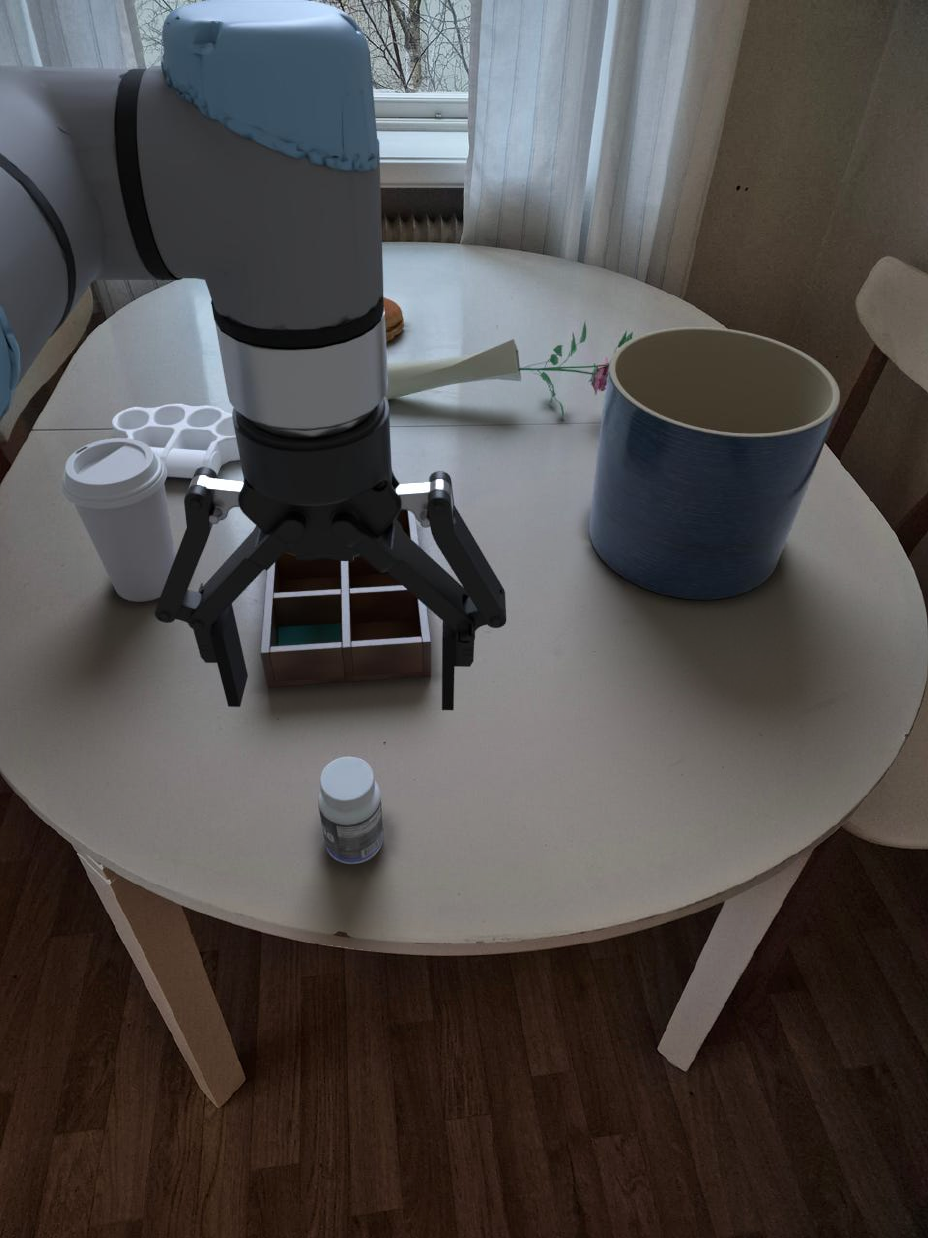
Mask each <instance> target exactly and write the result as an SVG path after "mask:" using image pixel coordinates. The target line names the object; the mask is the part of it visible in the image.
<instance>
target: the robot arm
mask: <svg viewBox="0 0 928 1238" xmlns="http://www.w3.org/2000/svg"><path fill="white" fill-rule="evenodd" d="M161 36H162V37H161V40H162V47H163V54H162V55H161V58H160V65H151V66H149V67H147V68H127V69H126V68H102V67H97V68H96V67H70V66H69V67H68V66H67V67H65V66H36V65H32V66H31V65H6V64H5V65H3V64H0V423H2V421H3V418H4V416H5V415H6V414H7V413H8V412H9V411H10V409H11V406H13V404H14V403H13V402H14V398H15V394H16V393H15V392H16V389H17V388H18V386H19V385H20V383H21V382H22V380H23V378H24V377H25V376H26V374H27V373H28V371H29V370H30V368H31V367H32V366H33V363H34V362H35V360H36V359H37V358H38V356H39V354H40V353H41V351H42V350H43V348H44V347H45V345H46V344H47V342H48V341H49V340H50V339H51V337H53V335H55V333H57V331H58V329H60V327H62V325H63V324H64V323H65V321H66V320H67V318H68V317H70V314H71V313H72V312H73V310H74V309H75V307H76V306H77V304H78V303H79V302H80V300H81V299H82V297H83V296H84V294H85V293H86V291H88V288H89V287H90V286H91V284H92V283H93V282H95V281H181V280H183V279H197V280H202V281H204V282H205V285H206V287H207V290H208V293H209V296H210V299H211V301H210V305H211V308H212V315H213V320H214V324H215V330H216V335H217V341H218V348H219V353H220V358H221V364H222V370H223V377H224V382H225V387H226V393H227V397H228V402H229V403H230V405H231V406H232V407H233V408H232V412H231V413H232V419H233V424H234V430H235V435H236V440H237V446H238V451H239V456H240V460H239V461H240V462H239V463H240V467H241V472H242V476H243V481H239V480H232V479H222V478H219V477H218V475H217V474H216V472H215V471H214V470H212V469H211V468H208V467H200V468H198V469H197V470H196V471H195V473H194V476H193V478H191V481H190V483H189V486H188V489H187V491H186V493H185V495H184V499H183V503H184V504H183V507H184V514H185V523H186V529H185V531H184V533H183V536H182V539H181V541H180V544H179V547H178V548H177V549H178V550H177V552H176V553H175V556H176V557H175V560H174V562H173V565H172V568H171V570H170V573H169V575H168V578H167V581H166V583H165V586H164V588H163V591H162V594H161V596H160V598H158V602H157V605H156V606H155V609H154V617H155V618H156V620H158V621H159V622H162V623H164V624H165V623H166V624H169V623H174V621H176V620H178V621H181V622H184V623H187V625H188V627H189V628H191V629H192V631H193V634H194V637H195V641H196V645H197V649H198V652H199V655H200V658H201V659H202V660H203V661H204V663H205V664H217V668H218V672H219V675H220V680H221V684H222V687H223V691H224V695H225V698H226V703H227V707H228V708H229V707H230V708H240V707H241V705H242V702H243V697H244V693H245V690H246V685H247V681H248V676H249V673H248V669H247V666H246V660H245V657H244V652H243V646H242V643H241V638H240V633H239V629H238V625H237V619H236V616H235V611H234V607H233V603H234V602H235V601H236V599H238V598H239V597H240V595H242V593H244V591H245V590H246V589H247V588H248V587H249V586H250V585H251V584H252V583H253V582H254V581H256V579H257V578H258V576H260V575H261V573H262V572H264V571H267V570H268V569H269V568H270V567H271V566H272V565H273V564H274V563H275V562H276V561H277V560H278V559H279V558H280V557H281V555H282V554H283V553H284V552H287V553H289V554H291V555H294V556H296V559H297V560H316V559H321V558H328V559H333V560H337V561H354V557H356V556H359V555H361V556H362V557H363V558H364V559H365V560H366V561H368V562H369V563H370V564H371V565H372V566H373V567H375V568H376V569H377V570H378V571H380V572H384V571H386V572H388V573H389V574H390V575H391V576H392V577H393V578H395V579H396V580H397V581H398V582H399V583H400V584H401V585H403V586H404V587H405V588H406V589H407V590H408V591H409V592H411V593H412V594H413V595H414V596H415V597H416V598H417V599H419V600H420V601H421V602H422V603H423V604H424V605H425V606H427V609H429V610H430V611H431V612H432V613H433V614H434V615H436V616H437V617H438V618H439V619H440V620H441V621H442V633H441V634H442V635H441V637H442V638H441V642H442V643H441V657H442V658H441V711H454V710H455V709H454V708H455V707H454V706H455V667H456V668H457V667H459V668H460V667H461V668H470V667H471V666H472V664H473V663H474V657H475V656H474V655H475V639H476V631H477V630H478V629H479V628H481V627H484V626H488V627H489V628H491V629H492V628H493V629H500V628H502V627H504V626H505V625H506V624H507V606H506V605H507V604H506V590H505V589H504V586H503V585H502V583H501V581H500V580H499V578H498V577H497V575H496V574H495V572H494V570H493V568H492V566H491V565H490V563H489V562H488V561H489V560H487V558H486V556H485V555H484V553H483V550H482V549H481V548H480V546H479V544H478V543H477V540H476V539H475V537H474V536H473V534H472V532H471V531H470V529H469V527H468V525H467V524H466V522H465V521H464V519H463V517H462V515H461V513H460V512H459V510H458V508H457V506H455V501H454V500H455V498H454V491H453V482H452V477H451V476H450V474H449V473H447V472H446V471H444V470H437V471H434V472H433V473H431V474H430V476H429V478H428V481H427V482H414V483H412V482H411V483H400V482H399V481H398V479H397V478H396V476H395V474H394V472H393V467H392V443H391V442H392V441H391V423H390V421H391V420H390V405H389V404H390V403H389V400H387V398H386V397H385V395H386V394H387V387H388V372H387V364H388V354H387V350H388V349H387V342H386V329H385V312H384V298H383V297H384V263H383V262H384V261H383V231H382V229H383V227H382V195H381V194H382V192H381V191H382V190H381V160H380V159H381V156H380V140H379V138H378V131H377V130H378V129H377V117H376V108H375V96H374V85H373V84H374V83H373V73H372V63H371V62H372V60H371V51H370V47H369V44H368V41H367V37H366V36H365V33H364V32H363V30H362V29H361V27H360V26H359V25H358V23H357V22H356V20H355V19H354V18H353V17H352V16H350V15H349V14H348V13H347V12H345V11H343V10H342V9H340V8H338V7H335V6H333V5H331V4H328V3H324V2H319V1H313V0H200V1H199V0H198V1H195V2H191V3H187V4H184V5H181V6H179V7H177V8H174V9H173V10H172V11H171V12H170V13H169V14H167V16H166V18H164V21H163V25H162V31H161ZM233 508H239V509H240V510H241V512H242V513H243V515H245V517H247V519H249V520H250V521H251V522H252V523H253V524H254V525H255V527H254V528H253V530H252V531H251V532H250V534H249V535H248V536H247V537H246V538H245V539H244V540H243V542H242V543H240V545H239V546H238V547H237V548H236V549H235V550H234V551H233V553H231V554H230V556H229V557H228V558H227V559H226V560H225V561H224V563H222V565H220V567H219V568H218V569H217V570H216V571H215V572H214V573H213V574H212V576H211V577H210V578H209V579H208V580H207V581H206V583H203V582H202V583H200V585H199V588H198V591H194V590H191V589H189V586H190V584H191V582H192V579H193V577H194V574H195V571H196V569H197V567H198V565H199V562H200V560H201V557H202V556H203V553H204V550H205V547H206V545H207V543H208V539H209V536H210V534H211V531H212V528H213V525H217V524H219V522H221V521H224V520H225V519H227V518H228V515H229V512H230V510H232V509H233ZM401 510H408V511H410V512H412V513H413V514H414V515H415V517H416V521H417V522H419V523H420V526H421V527H422V528H425V529H427V528H430V532H431V535H432V538H433V540H434V542H435V544H436V546H437V548H438V550H439V552H441V554H442V556H443V558H444V559H445V561H446V562H447V563H448V565H449V567H450V568H451V570H452V571H453V573H454V574H455V576H456V578H457V579H458V581H459V582H460V583H459V582H458V581H457V579H455V578H454V577H453V576H452V575H451V574H450V573H449V572H447V571H446V570H445V569H444V568H443V567H442V566H441V565H440V564H439V563H437V561H436V560H434V559H433V558H432V557H431V556H430V555H429V553H427V552H426V551H425V550H424V549H422V547H420V545H419V546H418V545H417V544H416V543H415V542H414V541H413V540H412V539H411V538H409V537H408V536H407V535H406V534H405V532H404V530H403V528H402V526H401V524H400V523H399V522H398V520H396V518H397V516H398V515H399V513H400V511H401Z"/></svg>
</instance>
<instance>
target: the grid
mask: <svg viewBox="0 0 928 1238" xmlns="http://www.w3.org/2000/svg"><path fill="white" fill-rule="evenodd" d="M396 520H398V522H399V523H400V524H401V526H402V528H403V530H404V532H405V534H406V535H407V536H408V537H409V538H411V539H412V540H413V541H414V542H415V543H416V544H417V545H418V546H419V547H420V541H419V533H418V525H417V519H416V517H415V515H414V514H413V513H412V512H410V511H408V510H401V511H400V513H399V515H398V516H397V518H396ZM264 588H265V589H264V604H263V614H262V615H263V616H262V630H261V640H260V641H261V642H260V652H259V654H260V658H261V664H262V668H263V673H264V677H265V678H264V679H265V682H266V683H265V684H266V687H267V688H276V687H291V686H302V685H305V686H306V685H318V684H320V685H321V684H332V683H333V684H335V683H345V682H360V681H373V680H375V681H376V680H389V679H401V678H415V677H417V678H418V677H430V676H432V637H431V630H430V622H429V615H428V614H429V613H428V607H427V606H425V605H424V604H423V603H422V602H421V601H420V600H419V599H417V598H416V597H415V596H414V595H413V594H412V593H411V592H409V591H408V590H407V589H406V588H405V587H404V586H403V585H401V584H400V583H399V582H398V581H397V580H396V579H395V578H393V577H392V576H391V575H390V574H389V573H388V572H386V571H384V572H380V571H378V570H377V569H376V568H375V567H373V566H372V565H371V564H370V563H369V562H368V561H366V560H365V559H364V558H363V557H362V556H361V555H359V556H356V557H354V561H337V560H333V559H328V558H321V559H316V560H297V559H296V556H294V555H291V554H289V553H287V552H284V553H283V554H282V555H281V557H280V558H279V559H278V560H277V561H276V562H275V563H274V564H273V565H272V566H271V567H270V568H269V569H268V570H266V574H265V587H264Z"/></svg>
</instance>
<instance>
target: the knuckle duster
mask: <svg viewBox="0 0 928 1238" xmlns="http://www.w3.org/2000/svg"><path fill="white" fill-rule="evenodd" d="M111 427H112V430H113V433H114V436H115V438H128V439H134V440H138V441H141V442H143V443H145V444H147V445H148V446H149V447H150V448H151V449H152V451H153V452H155V453H156V454H157V455H158V456H159V457H160V458H161V460H162V461H163V463H164V464H165V466H166V469H167V478H182V479H192V478H193V476H194V473H195V471H196V470H197V469H198V468H200V467H208V468H211V469H212V470H214V471H215V472H216V474H217V476H218V475H219V472H220V469H221V468H222V466H223V465H225V464H227V463H229V462H234V461H240V456H239V451H238V446H237V440H236V435H235V430H234V424H233V419H232V412H227V411H226V410H223V409H221V407H217V406H213V405H209V404H204V405H188V404H184V403H182V402H181V403H169V404H164V405H160V406H156V407H140V406H133V407H129V408H125V409H123V410H121V411H119V412H118V413H116V414H115V415H114V416H113V418H112V420H111Z"/></svg>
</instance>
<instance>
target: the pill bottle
mask: <svg viewBox="0 0 928 1238" xmlns="http://www.w3.org/2000/svg"><path fill="white" fill-rule="evenodd" d="M378 784H379V783H377V781H376V780H375V773H374V771H373V768H372V767H371V765H370V764H369V763H368V762H367V761H366V760H363V759H361V758H359V757H355V756H341V757H339V758H335V759H334V760H332V761H330V762H329V763H328V764H326V766H325V767H324V768H323V770H322V771H321V773H320V777H319V787H320V788H319V791H318V795H317V806H318V812H319V817H320V822H321V829H322V835H323V841H324V846H325V849H326V851H327V853H328V854H329V855H330V857H332V858H333V859H334V860H336V861H337V862H339V863H342V864H346V865H357V864H361V863H365V862H367V861H369V860H371V859H372V858H374V857H375V856H376V855H377V853H379V851H380V849H381V847H382V845H383V841H384V826H383V825H384V824H383V822H384V821H383V809H382V796H381V789H380V787H379V785H378Z"/></svg>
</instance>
